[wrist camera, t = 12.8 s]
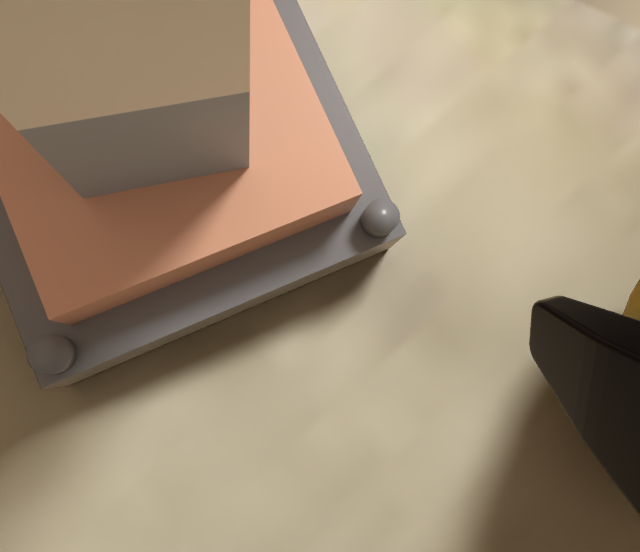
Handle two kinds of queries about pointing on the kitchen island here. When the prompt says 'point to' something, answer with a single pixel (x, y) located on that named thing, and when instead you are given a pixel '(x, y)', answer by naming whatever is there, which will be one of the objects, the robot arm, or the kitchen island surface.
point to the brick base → (222, 284)
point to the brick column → (128, 88)
